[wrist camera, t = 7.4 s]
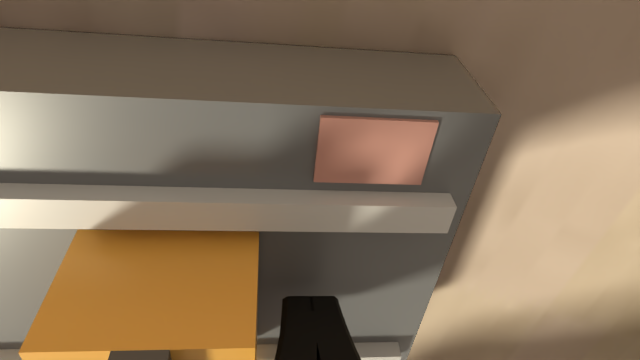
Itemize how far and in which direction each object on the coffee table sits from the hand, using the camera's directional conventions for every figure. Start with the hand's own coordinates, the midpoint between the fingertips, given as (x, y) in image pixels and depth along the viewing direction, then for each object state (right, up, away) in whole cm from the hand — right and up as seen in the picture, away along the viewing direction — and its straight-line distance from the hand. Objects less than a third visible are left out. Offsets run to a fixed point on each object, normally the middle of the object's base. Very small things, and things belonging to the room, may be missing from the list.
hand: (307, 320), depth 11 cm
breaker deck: (-4, +3, +3) cm, 6 cm away
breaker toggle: (-3, +1, 0) cm, 3 cm away
